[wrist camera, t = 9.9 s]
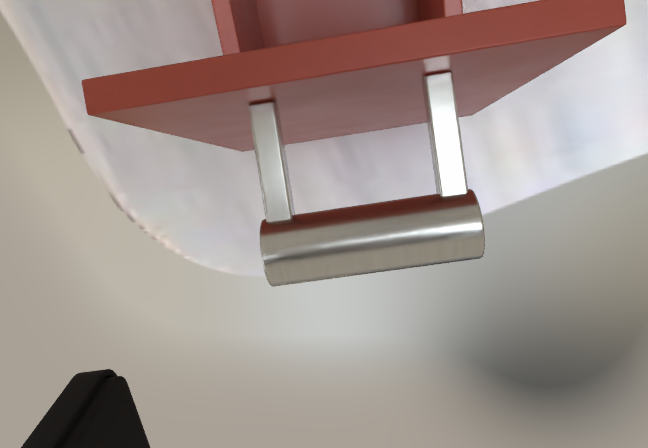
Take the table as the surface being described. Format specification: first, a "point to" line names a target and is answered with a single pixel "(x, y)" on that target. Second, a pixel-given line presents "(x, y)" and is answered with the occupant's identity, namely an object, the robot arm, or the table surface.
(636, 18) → the table surface
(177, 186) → the table surface
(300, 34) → the bin
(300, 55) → the bin lid
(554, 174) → the table surface
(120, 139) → the table surface
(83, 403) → the robot arm
